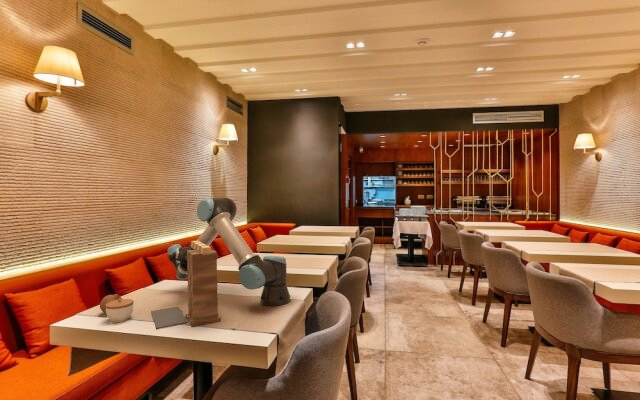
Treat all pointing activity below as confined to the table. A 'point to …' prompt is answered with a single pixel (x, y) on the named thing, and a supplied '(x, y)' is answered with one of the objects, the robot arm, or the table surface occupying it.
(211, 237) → the robot arm
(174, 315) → the rubber mat
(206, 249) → the maple bar
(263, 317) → the table surface
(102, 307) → the onion
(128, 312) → the lidded jar
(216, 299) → the walnut pedestal
